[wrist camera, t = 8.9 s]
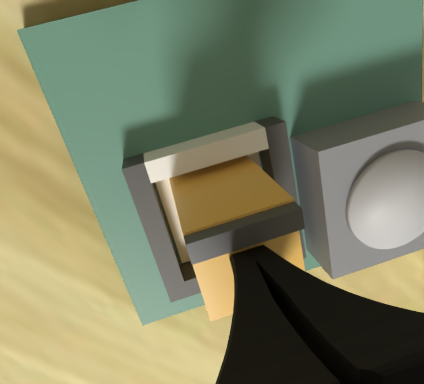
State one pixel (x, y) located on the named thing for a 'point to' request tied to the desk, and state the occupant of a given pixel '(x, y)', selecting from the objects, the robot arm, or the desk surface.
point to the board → (241, 123)
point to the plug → (233, 223)
